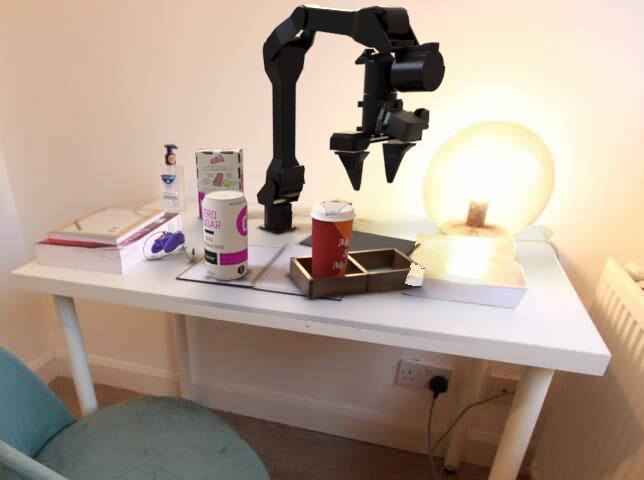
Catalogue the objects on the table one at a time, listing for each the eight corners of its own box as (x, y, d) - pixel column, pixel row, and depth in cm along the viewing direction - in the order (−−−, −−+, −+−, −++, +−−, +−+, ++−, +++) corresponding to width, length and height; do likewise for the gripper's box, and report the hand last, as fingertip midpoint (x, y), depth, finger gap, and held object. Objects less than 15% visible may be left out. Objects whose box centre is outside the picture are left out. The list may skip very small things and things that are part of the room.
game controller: (132, 239, 102) (172, 220, 106) (148, 275, 105) (187, 255, 109) (149, 237, 93) (192, 217, 97) (167, 276, 96) (208, 255, 100)
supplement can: (253, 267, 98) (253, 190, 90) (239, 283, 91) (238, 201, 83) (215, 263, 100) (211, 187, 92) (199, 278, 93) (194, 198, 86)
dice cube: (336, 218, 125) (337, 198, 123) (350, 223, 121) (352, 202, 119) (321, 221, 123) (322, 201, 120) (335, 226, 119) (336, 206, 117)
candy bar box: (244, 214, 129) (243, 148, 121) (241, 219, 125) (240, 151, 117) (203, 213, 131) (199, 147, 123) (198, 218, 127) (194, 151, 119)
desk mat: (299, 244, 109) (299, 242, 109) (327, 227, 119) (327, 225, 119) (397, 263, 98) (397, 262, 98) (419, 243, 108) (419, 242, 108)
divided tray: (289, 274, 94) (290, 257, 92) (392, 264, 98) (395, 247, 96) (308, 299, 85) (309, 280, 83) (422, 286, 88) (425, 268, 87)
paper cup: (348, 293, 86) (356, 214, 79) (304, 290, 88) (308, 212, 81) (349, 276, 93) (356, 201, 86) (308, 273, 94) (312, 200, 87)
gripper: (381, 96, 74) (374, 201, 81) (454, 89, 84) (441, 184, 91) (328, 97, 82) (326, 192, 90) (400, 90, 92) (392, 177, 99)
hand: (373, 186), depth 92 cm, fingers open, 9 cm apart
